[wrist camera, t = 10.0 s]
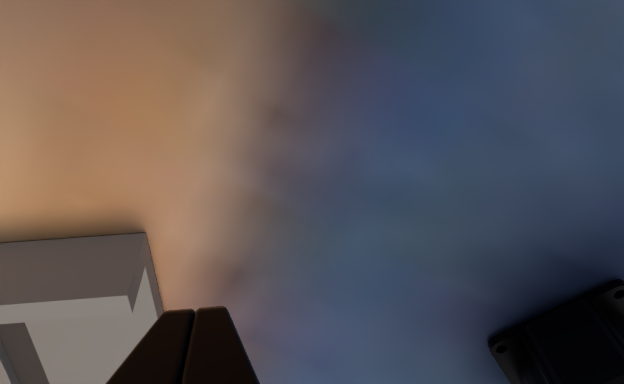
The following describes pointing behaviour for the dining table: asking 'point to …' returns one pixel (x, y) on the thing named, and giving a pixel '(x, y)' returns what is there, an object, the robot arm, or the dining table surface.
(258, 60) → the dining table surface
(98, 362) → the gray open tray
